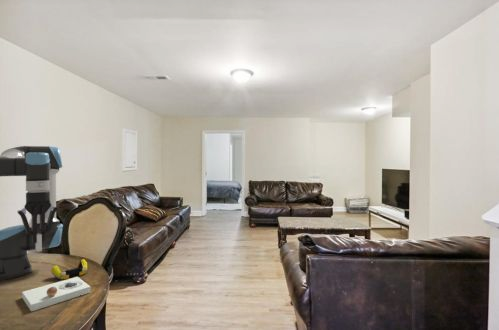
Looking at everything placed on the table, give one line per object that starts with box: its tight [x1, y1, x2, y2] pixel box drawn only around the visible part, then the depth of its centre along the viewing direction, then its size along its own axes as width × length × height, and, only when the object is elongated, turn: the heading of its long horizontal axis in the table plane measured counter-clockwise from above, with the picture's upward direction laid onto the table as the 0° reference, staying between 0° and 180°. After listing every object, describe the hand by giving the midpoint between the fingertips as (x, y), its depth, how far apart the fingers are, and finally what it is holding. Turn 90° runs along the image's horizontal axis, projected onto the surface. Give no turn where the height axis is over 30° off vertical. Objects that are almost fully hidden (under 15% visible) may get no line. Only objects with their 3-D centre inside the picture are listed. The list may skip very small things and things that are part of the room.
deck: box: [21, 276, 92, 312], centre depth 115 cm, size 16×20×2 cm
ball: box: [65, 283, 74, 288], centre depth 119 cm, size 3×3×3 cm
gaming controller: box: [51, 259, 88, 281], centre depth 136 cm, size 15×6×10 cm
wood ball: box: [47, 287, 57, 296], centre depth 109 cm, size 3×3×3 cm
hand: (38, 250), depth 111 cm, fingers closed
